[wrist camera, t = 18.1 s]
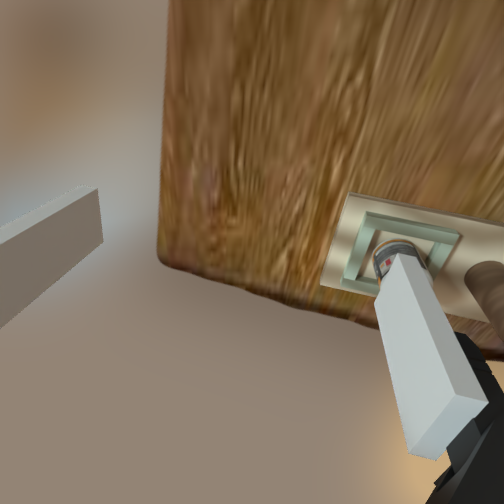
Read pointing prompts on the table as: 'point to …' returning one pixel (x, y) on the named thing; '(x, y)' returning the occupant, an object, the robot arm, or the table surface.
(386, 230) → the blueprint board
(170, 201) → the table surface
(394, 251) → the pill bottle
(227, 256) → the table surface
